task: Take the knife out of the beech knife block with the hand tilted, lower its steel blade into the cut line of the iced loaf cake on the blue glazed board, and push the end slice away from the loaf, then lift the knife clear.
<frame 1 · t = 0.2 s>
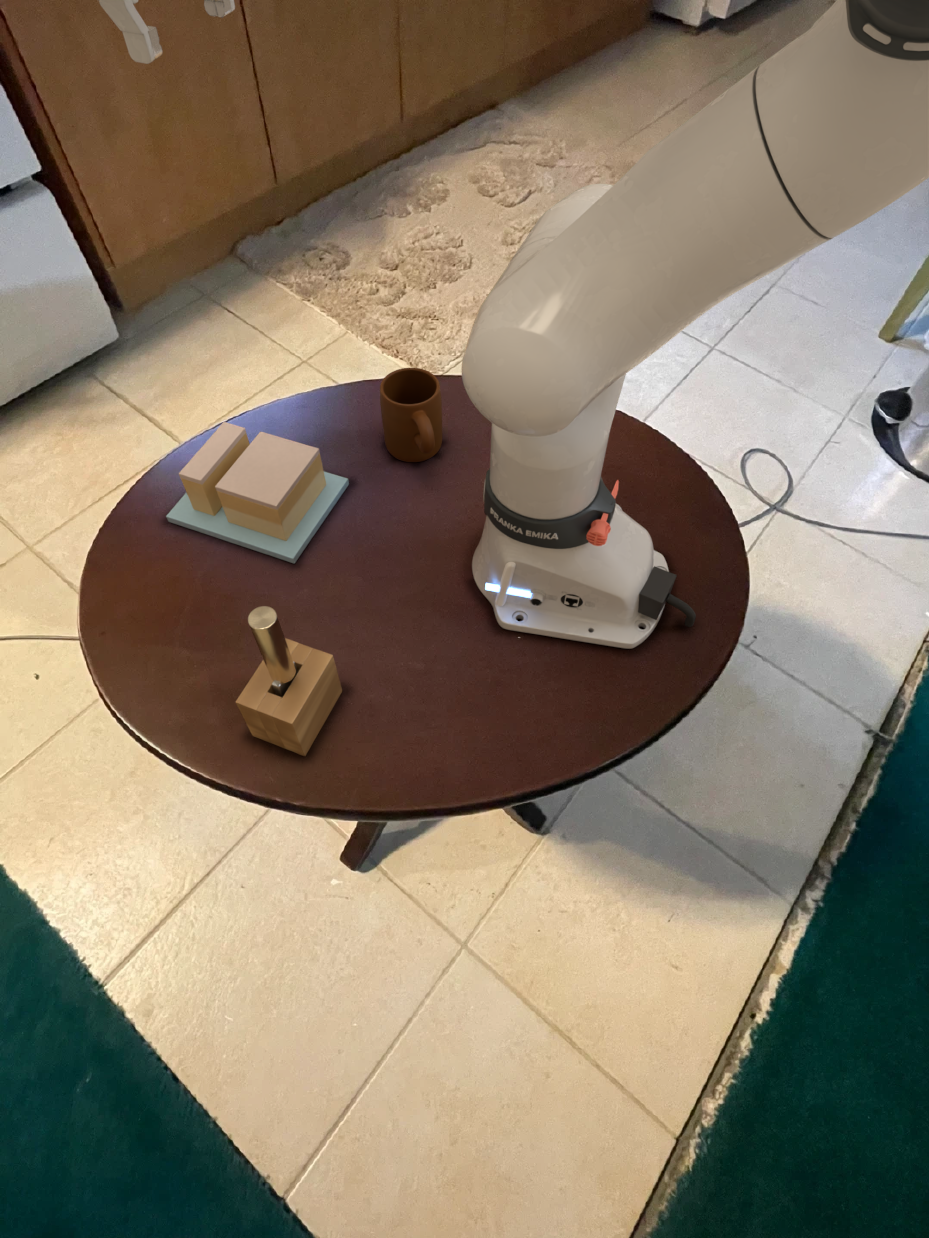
hand: (186, 35, 56), 48 cm above the table, tool pointing down, fingers open, 8 cm apart
cake: (265, 504, 94), on the table
cake slice: (225, 486, 95), point 1 cm above the table, touching cake
knife: (298, 713, 78), resting in knife block
knife block: (298, 712, 78), on the table
mug: (418, 456, 100), on the table
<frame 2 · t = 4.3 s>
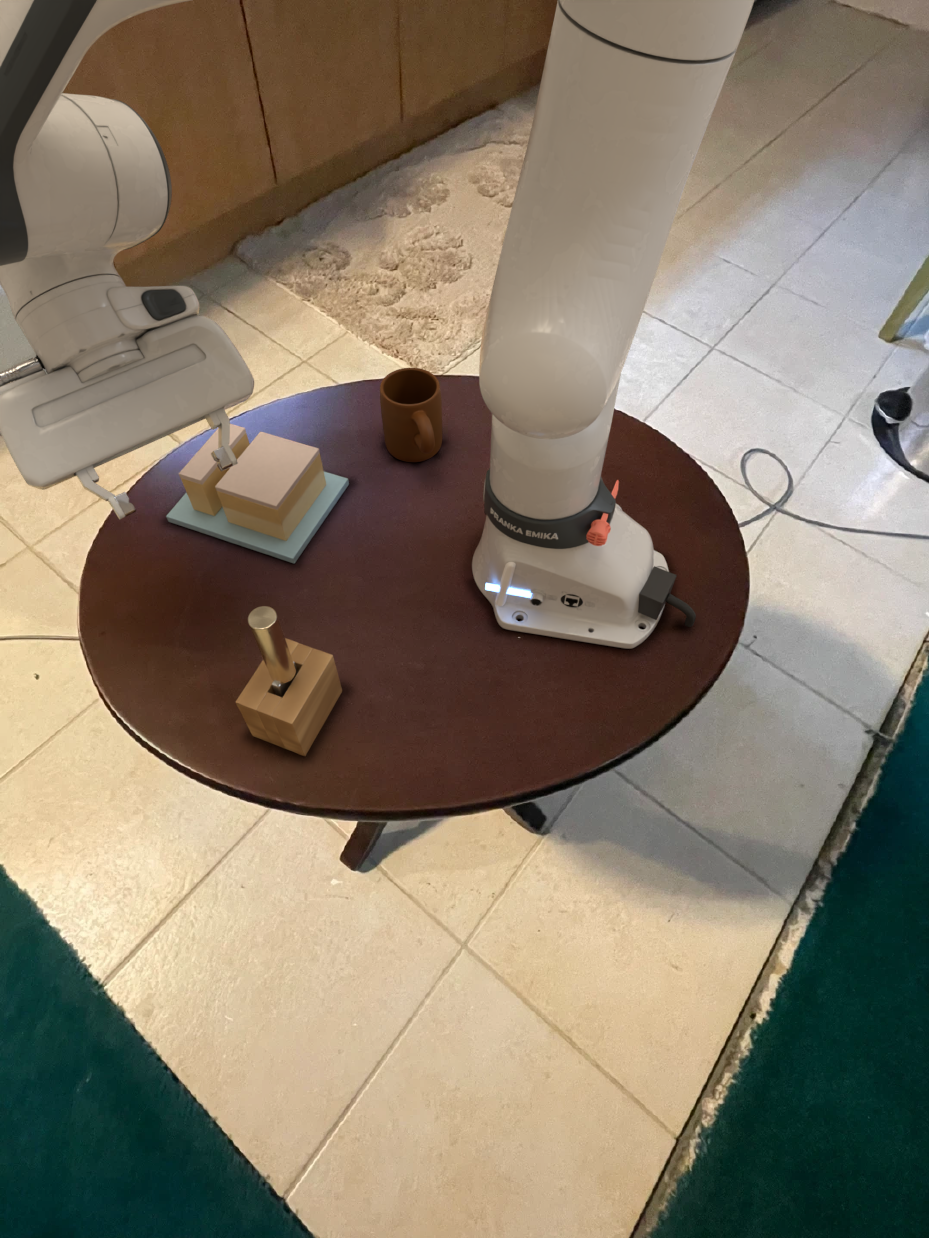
hand: (180, 491, 66), 22 cm above the table, tool tilted 45°, fingers open, 8 cm apart
nothing on the table moved.
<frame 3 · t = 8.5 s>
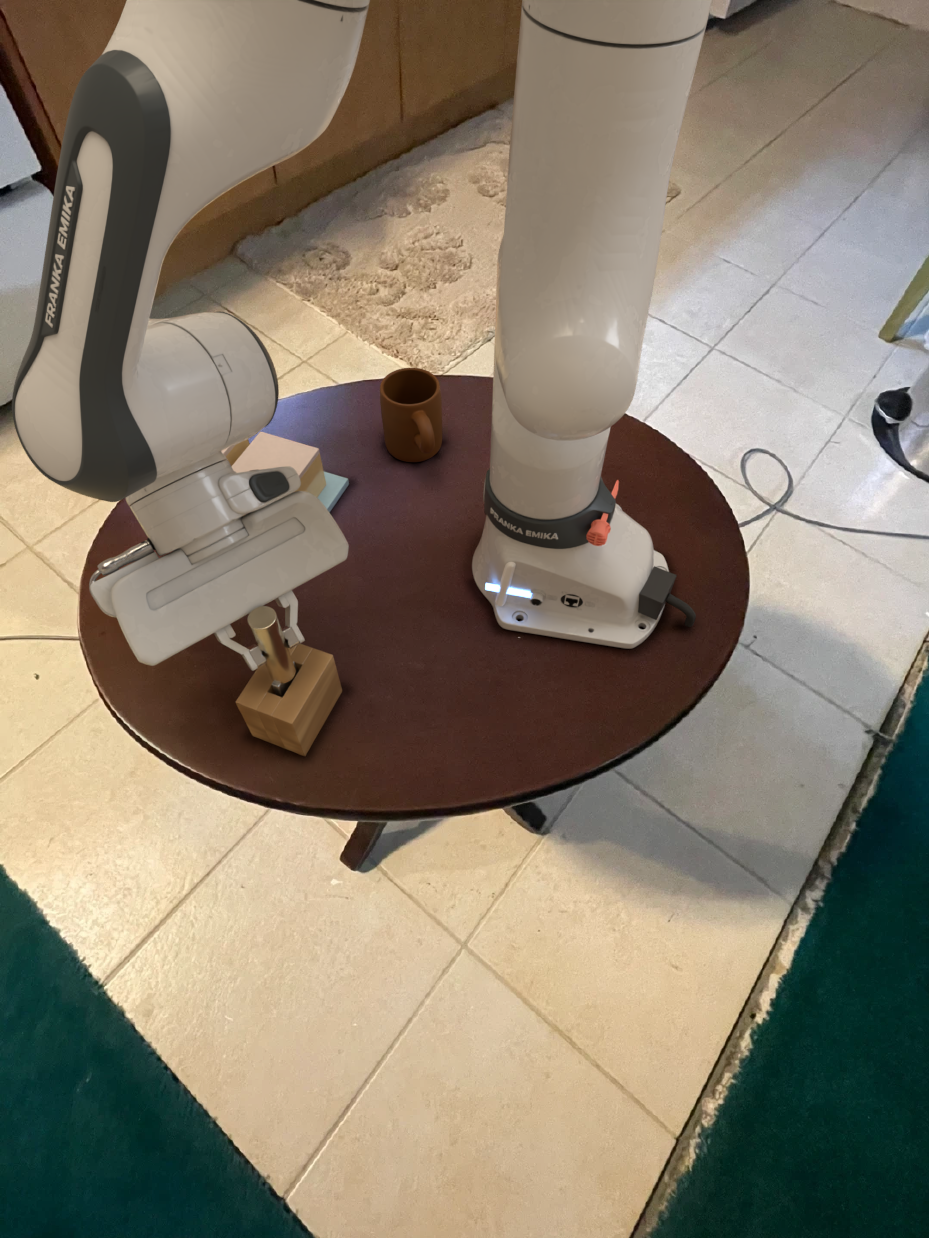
hand: (278, 655, 68), 12 cm above the table, tool tilted 45°, fingers closed on knife, 2 cm apart
knife: (298, 713, 78), resting in knife block, touching gripper
everything else where it was.
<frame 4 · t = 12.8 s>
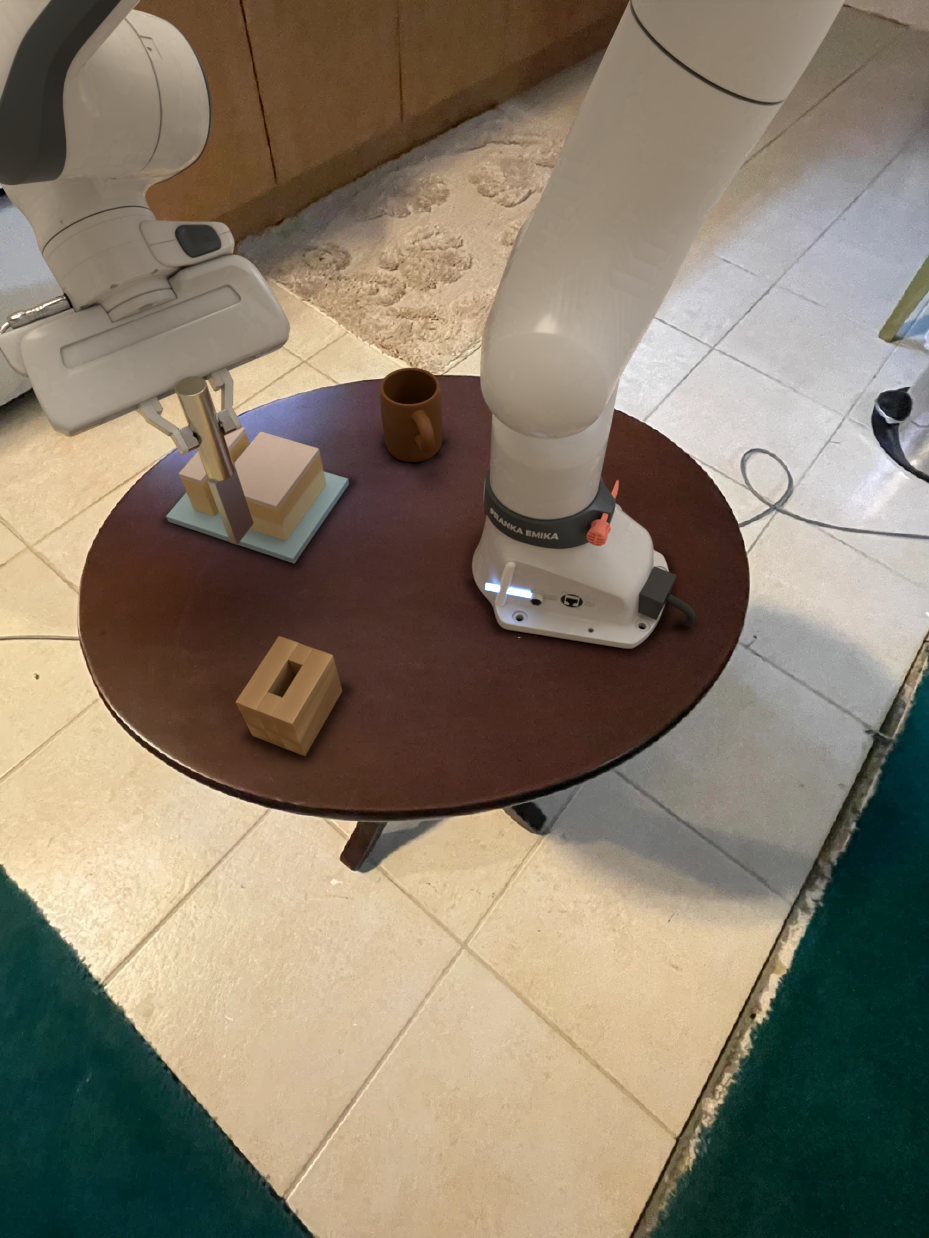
hand: (212, 441, 62), 26 cm above the table, tool tilted 45°, fingers closed on knife, 2 cm apart
knife: (242, 533, 72), point 15 cm above the table, touching gripper
everything else where it was.
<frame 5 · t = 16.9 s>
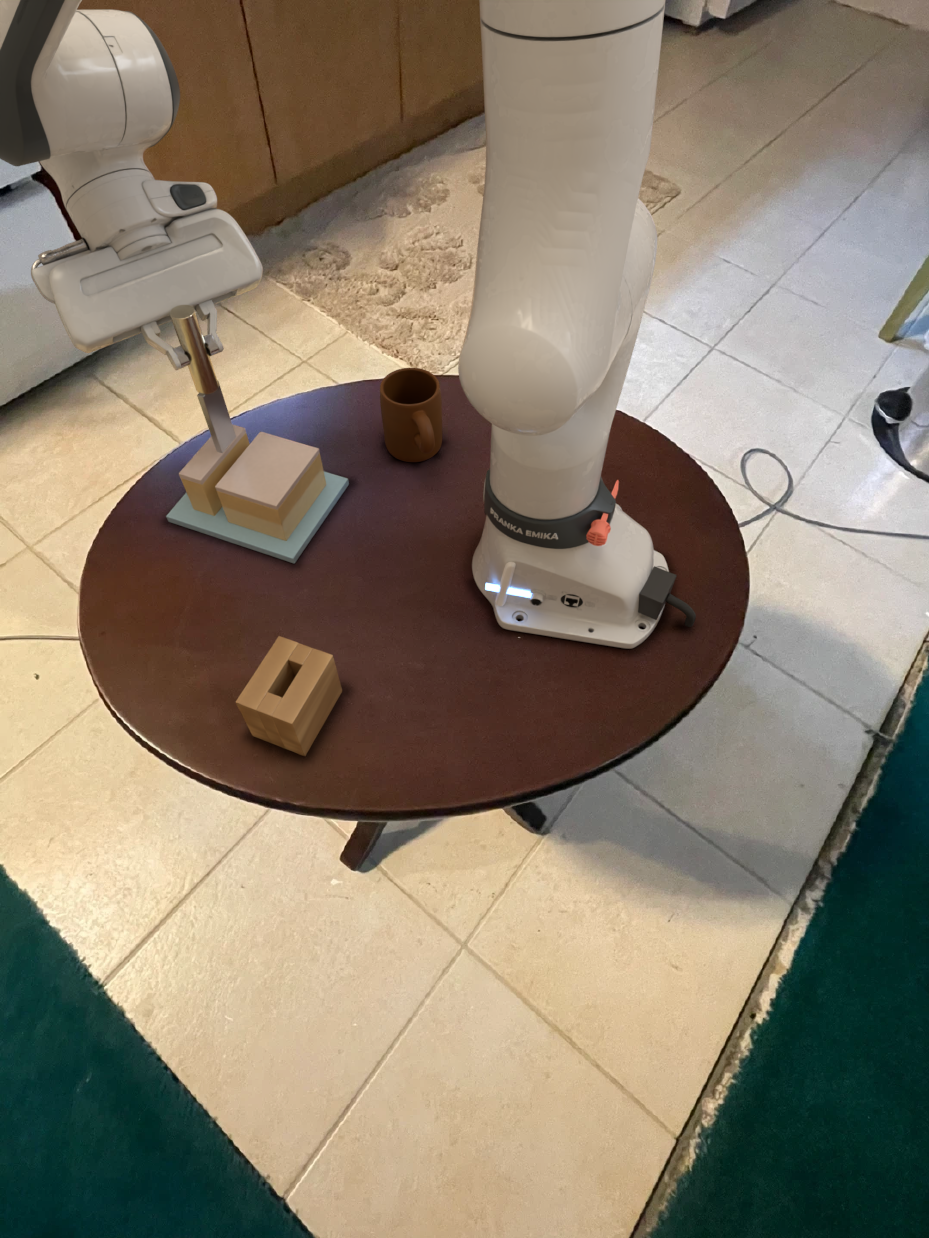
hand: (200, 359, 78), 21 cm above the table, tool tilted 45°, fingers closed on knife, 2 cm apart
knife: (226, 444, 88), point 9 cm above the table, touching gripper
everything else where it was.
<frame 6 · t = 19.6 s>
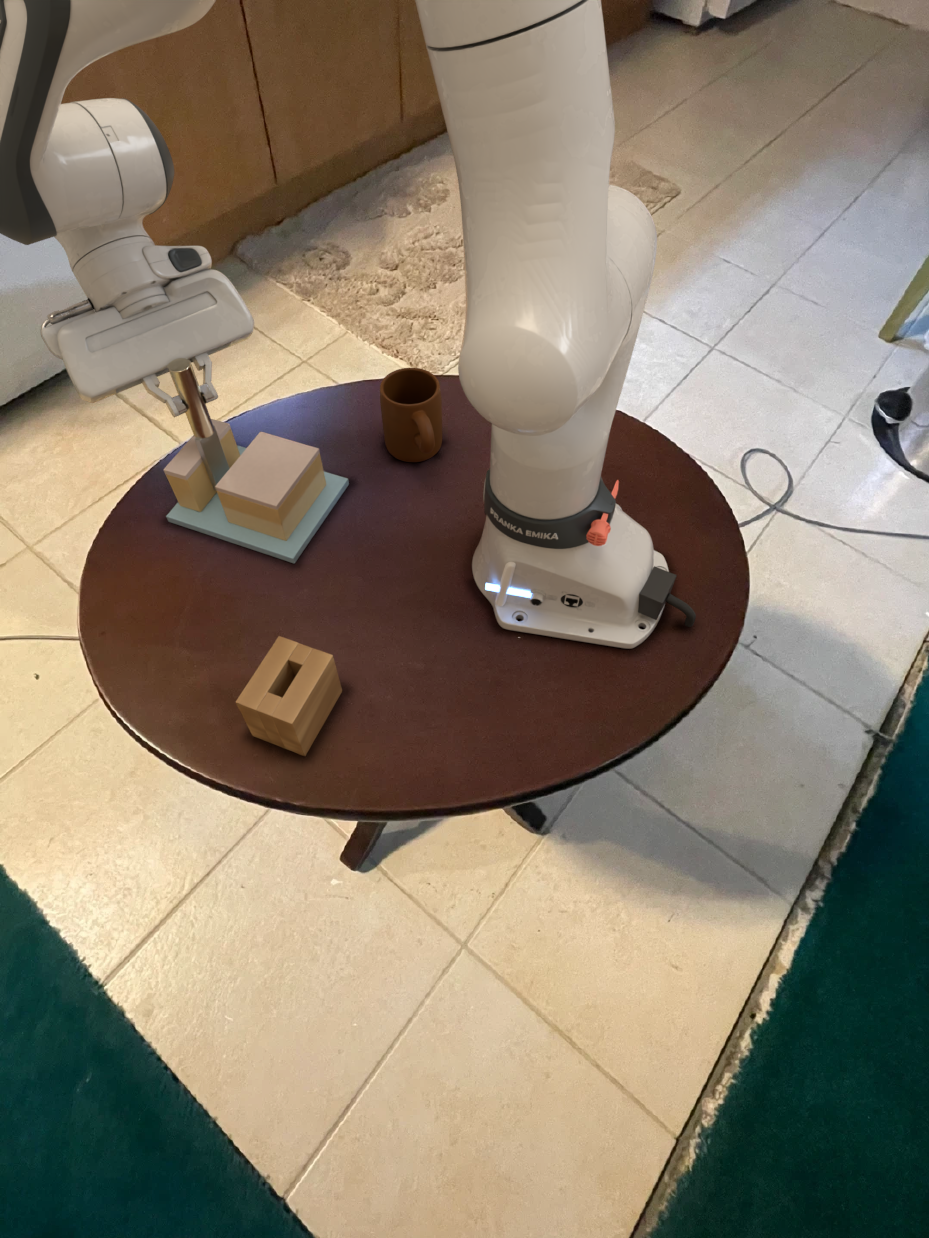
hand: (196, 407, 84), 14 cm above the table, tool tilted 45°, fingers closed on knife, 2 cm apart
cake slice: (211, 482, 95), point 1 cm above the table, touching cake
knife: (223, 483, 94), point 2 cm above the table, touching gripper
everything else where it was.
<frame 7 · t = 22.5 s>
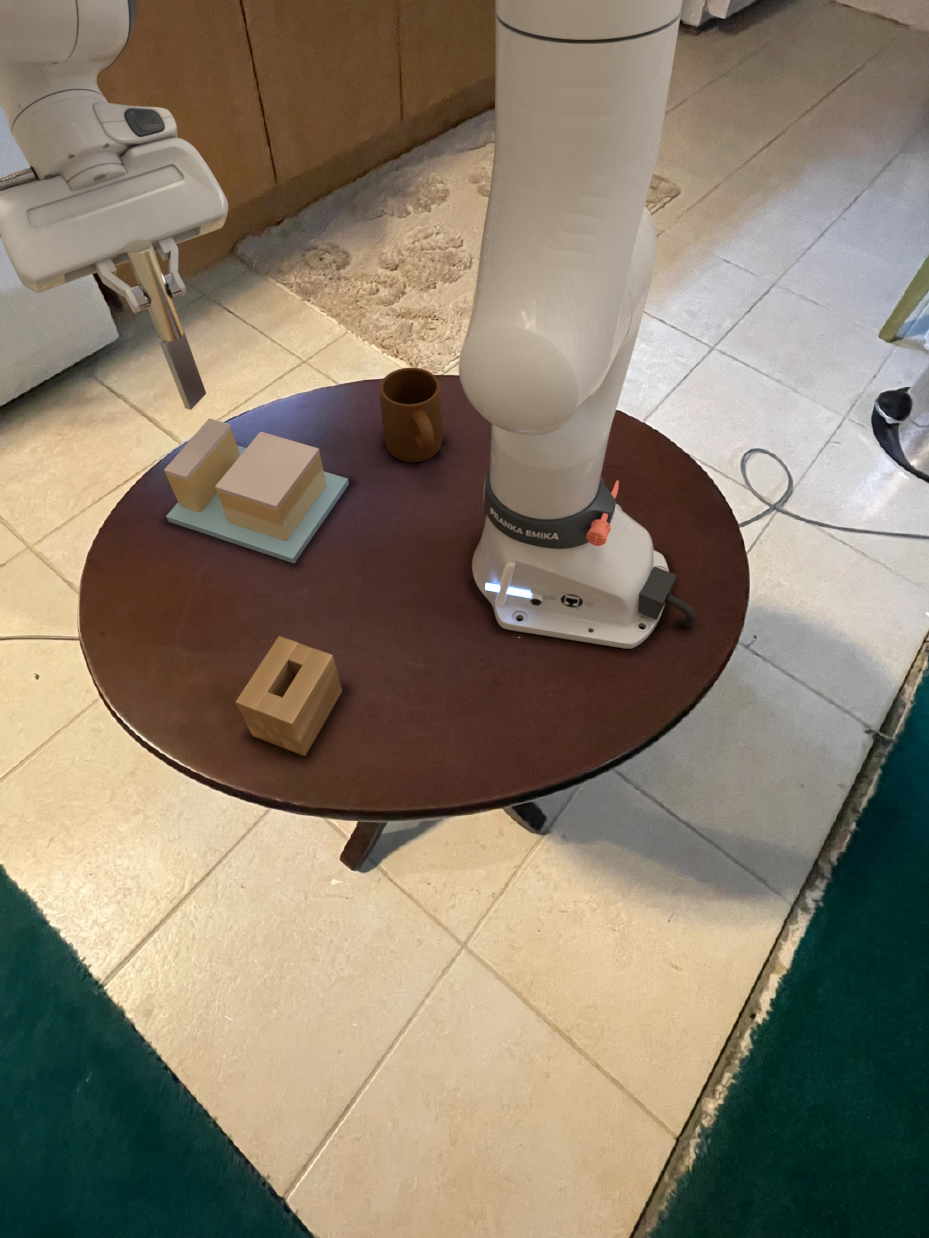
hand: (161, 302, 73), 27 cm above the table, tool tilted 45°, fingers closed on knife, 2 cm apart
knife: (196, 401, 82), point 15 cm above the table, touching gripper
everything else where it was.
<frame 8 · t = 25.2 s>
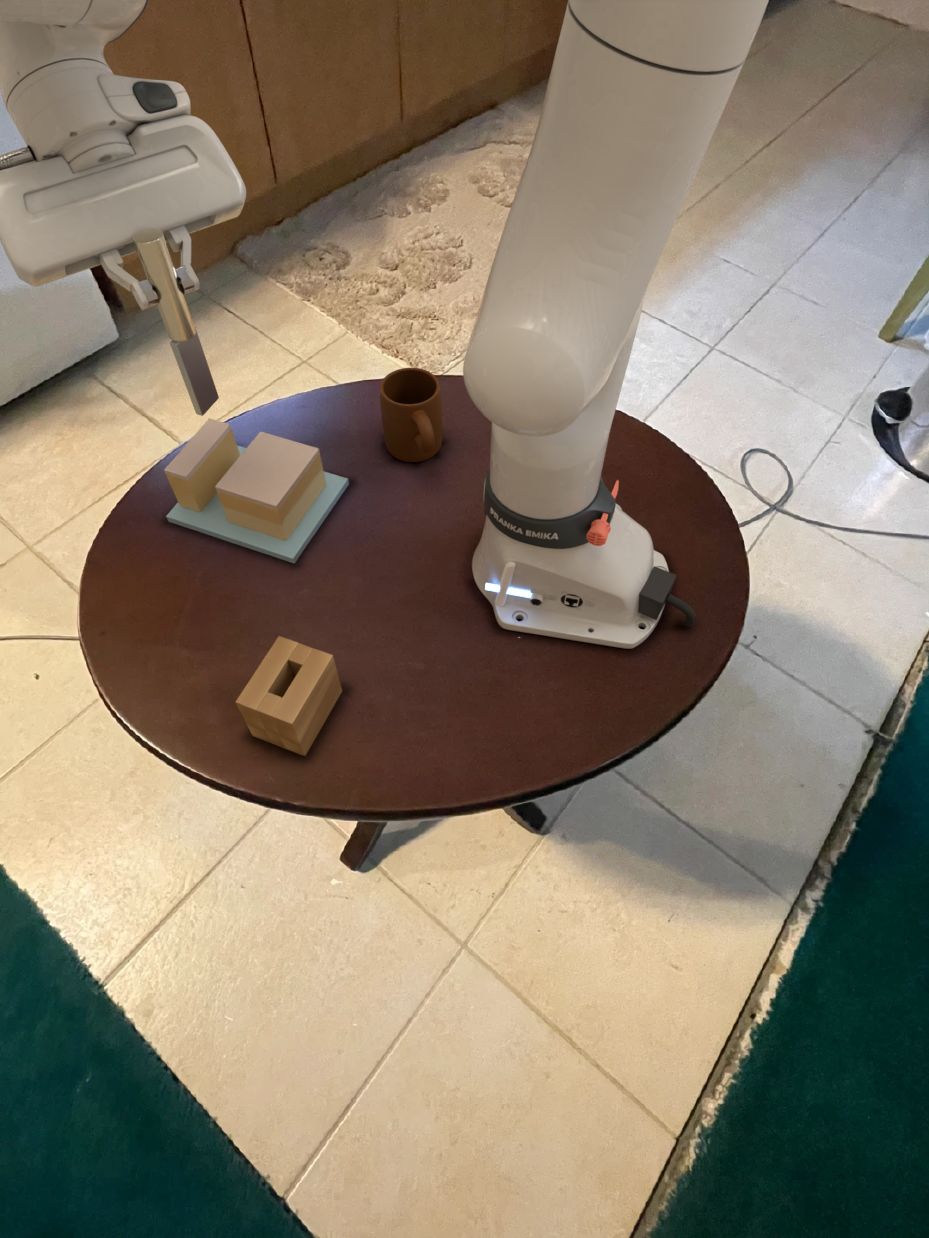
hand: (171, 297, 66), 31 cm above the table, tool tilted 45°, fingers closed on knife, 2 cm apart
knife: (207, 406, 76), point 19 cm above the table, touching gripper
everything else where it was.
at the end: cake slice 2.0 cm from the target spot on the cake, point 1.0 cm above the cake's base; cake slice tilted 0°; the gripper is holding knife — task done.
